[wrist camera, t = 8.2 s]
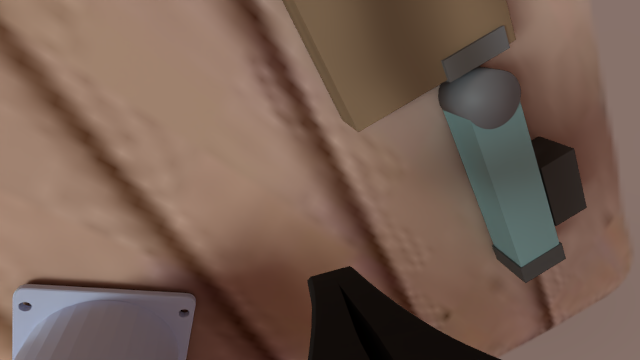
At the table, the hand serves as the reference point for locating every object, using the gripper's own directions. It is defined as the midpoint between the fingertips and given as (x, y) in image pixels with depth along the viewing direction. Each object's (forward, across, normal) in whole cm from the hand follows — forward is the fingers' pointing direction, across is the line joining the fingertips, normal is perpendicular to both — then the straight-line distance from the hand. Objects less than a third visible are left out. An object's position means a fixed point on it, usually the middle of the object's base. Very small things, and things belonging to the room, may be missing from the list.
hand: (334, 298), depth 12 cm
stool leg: (+8, -11, +1) cm, 14 cm away
